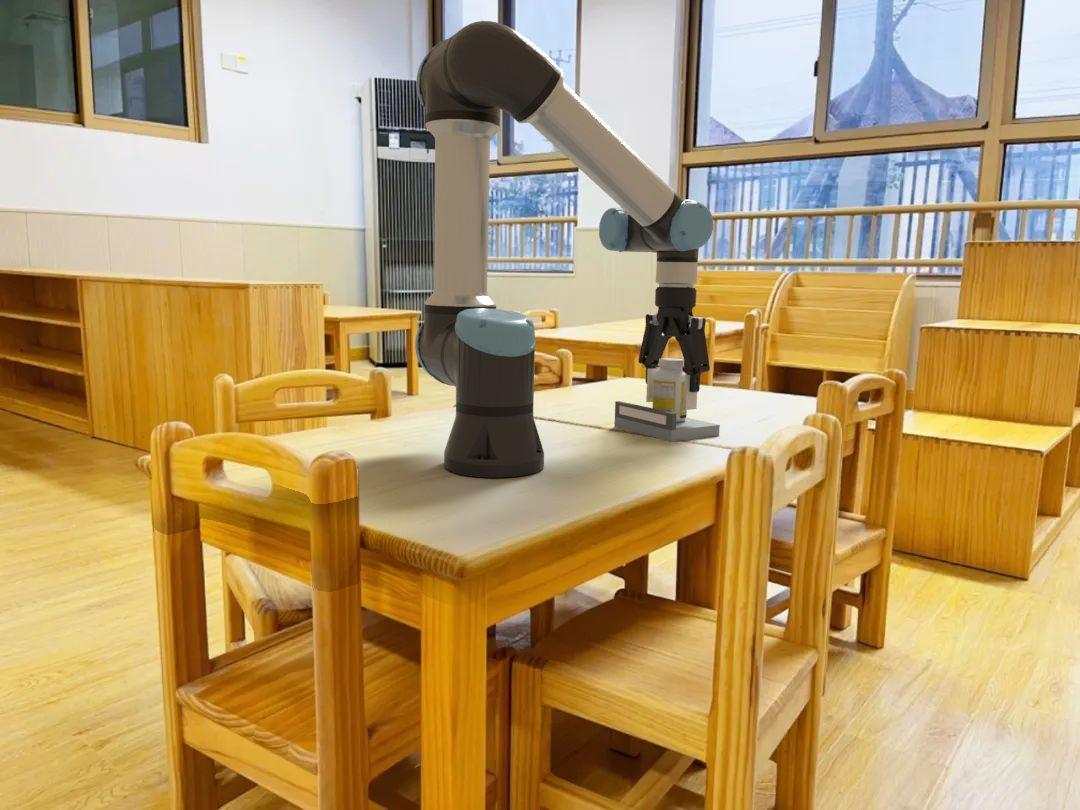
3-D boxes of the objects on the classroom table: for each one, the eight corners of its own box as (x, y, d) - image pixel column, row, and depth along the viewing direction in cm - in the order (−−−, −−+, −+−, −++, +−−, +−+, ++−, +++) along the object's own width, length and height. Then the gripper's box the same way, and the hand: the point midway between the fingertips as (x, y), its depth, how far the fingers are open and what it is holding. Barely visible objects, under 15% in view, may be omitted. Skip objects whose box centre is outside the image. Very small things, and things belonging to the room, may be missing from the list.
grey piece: (670, 441, 144) (671, 413, 143) (613, 426, 157) (614, 401, 156) (719, 435, 151) (720, 408, 150) (660, 421, 164) (662, 397, 163)
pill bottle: (683, 417, 157) (686, 358, 155) (688, 423, 151) (691, 361, 149) (650, 416, 157) (652, 357, 156) (653, 422, 151) (656, 360, 149)
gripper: (735, 287, 143) (728, 412, 147) (651, 285, 161) (647, 396, 165) (704, 287, 139) (698, 415, 142) (622, 284, 157) (618, 398, 161)
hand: (670, 405), depth 154 cm, fingers open, 9 cm apart
